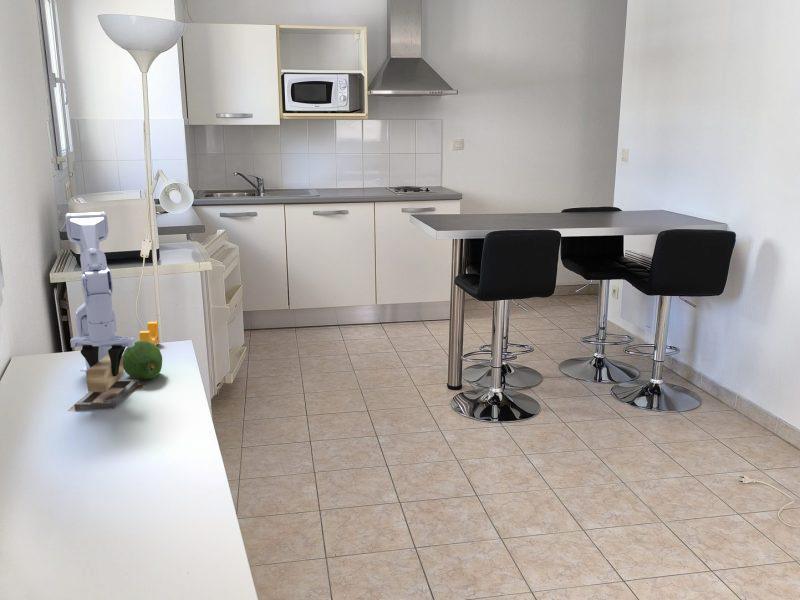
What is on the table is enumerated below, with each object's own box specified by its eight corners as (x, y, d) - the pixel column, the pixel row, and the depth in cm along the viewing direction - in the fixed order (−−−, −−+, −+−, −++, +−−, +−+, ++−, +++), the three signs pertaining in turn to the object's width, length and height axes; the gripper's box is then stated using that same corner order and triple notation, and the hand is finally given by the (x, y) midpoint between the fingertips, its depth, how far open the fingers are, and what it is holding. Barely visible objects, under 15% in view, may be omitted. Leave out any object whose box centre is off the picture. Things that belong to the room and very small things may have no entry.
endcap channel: (98, 386, 184) (97, 378, 183) (145, 387, 184) (144, 378, 183) (67, 413, 167) (66, 405, 166) (119, 414, 167) (118, 405, 166)
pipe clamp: (144, 342, 222) (143, 321, 220) (159, 341, 222) (157, 321, 221) (134, 354, 210) (133, 332, 209) (150, 353, 211) (148, 332, 209)
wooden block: (108, 374, 180) (106, 355, 179) (124, 374, 180) (122, 355, 179) (88, 391, 168) (85, 371, 167) (105, 391, 168) (103, 371, 167)
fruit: (170, 385, 185) (167, 348, 183) (129, 391, 181) (126, 353, 178) (158, 367, 198) (155, 333, 196) (120, 373, 193) (117, 338, 191)
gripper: (62, 325, 166) (68, 380, 170) (125, 325, 166) (130, 380, 170) (75, 317, 173) (81, 370, 176) (135, 317, 173) (140, 370, 177)
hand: (106, 375), depth 174 cm, fingers closed on wooden block, 4 cm apart
